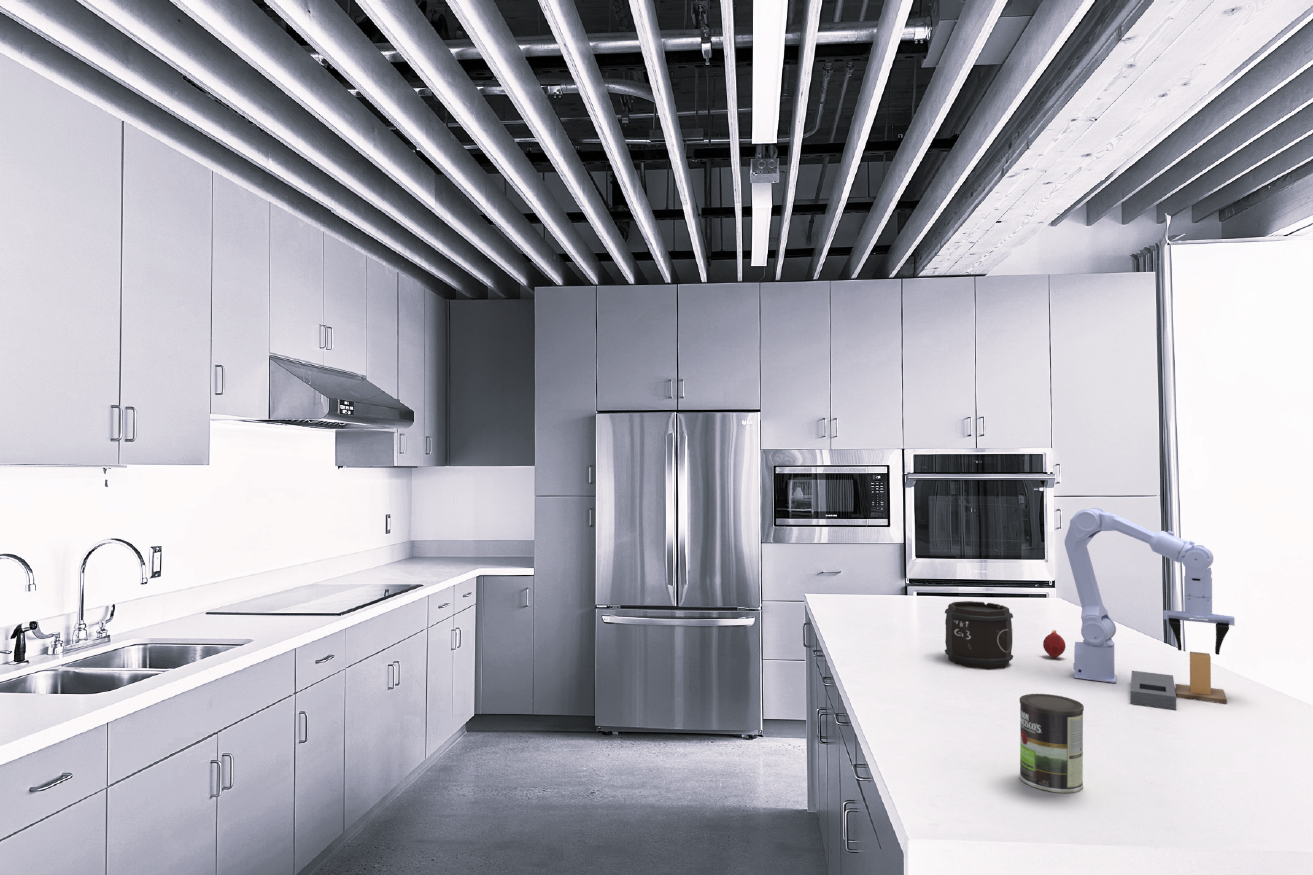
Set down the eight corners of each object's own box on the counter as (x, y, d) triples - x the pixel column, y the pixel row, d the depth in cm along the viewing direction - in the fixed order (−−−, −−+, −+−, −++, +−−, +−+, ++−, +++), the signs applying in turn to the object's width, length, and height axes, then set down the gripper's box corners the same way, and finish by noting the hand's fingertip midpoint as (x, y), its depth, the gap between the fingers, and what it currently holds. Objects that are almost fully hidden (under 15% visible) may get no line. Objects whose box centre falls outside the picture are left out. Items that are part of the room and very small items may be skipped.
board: (1176, 697, 201) (1176, 693, 201) (1175, 687, 210) (1175, 683, 210) (1226, 703, 196) (1226, 699, 196) (1223, 693, 205) (1223, 689, 205)
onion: (1068, 661, 237) (1067, 632, 237) (1046, 659, 238) (1046, 631, 238) (1062, 656, 242) (1062, 628, 242) (1041, 655, 243) (1041, 627, 244)
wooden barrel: (1010, 657, 241) (1010, 602, 241) (1015, 672, 224) (1015, 613, 224) (944, 652, 247) (944, 598, 247) (944, 666, 230) (944, 608, 230)
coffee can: (1039, 794, 142) (1039, 710, 143) (1008, 771, 152) (1008, 693, 153) (1096, 792, 143) (1096, 709, 143) (1062, 770, 153) (1062, 692, 154)
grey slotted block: (1130, 703, 196) (1130, 690, 196) (1131, 682, 215) (1131, 670, 215) (1176, 709, 191) (1175, 696, 191) (1173, 687, 210) (1172, 675, 210)
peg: (1191, 692, 202) (1190, 654, 202) (1189, 688, 206) (1189, 651, 206) (1210, 694, 200) (1210, 656, 200) (1209, 690, 204) (1209, 653, 204)
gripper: (1163, 595, 205) (1163, 651, 204) (1235, 601, 197) (1235, 658, 197) (1163, 591, 211) (1163, 645, 210) (1232, 596, 203) (1233, 652, 203)
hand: (1198, 651), depth 204 cm, fingers open, 7 cm apart
